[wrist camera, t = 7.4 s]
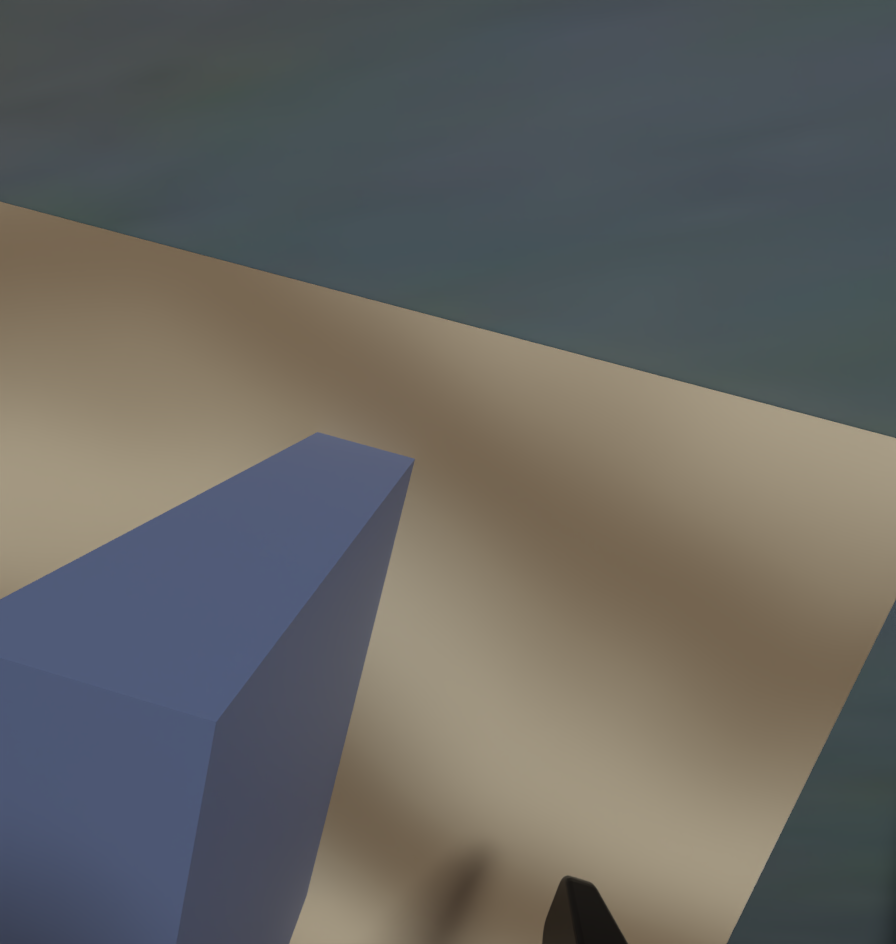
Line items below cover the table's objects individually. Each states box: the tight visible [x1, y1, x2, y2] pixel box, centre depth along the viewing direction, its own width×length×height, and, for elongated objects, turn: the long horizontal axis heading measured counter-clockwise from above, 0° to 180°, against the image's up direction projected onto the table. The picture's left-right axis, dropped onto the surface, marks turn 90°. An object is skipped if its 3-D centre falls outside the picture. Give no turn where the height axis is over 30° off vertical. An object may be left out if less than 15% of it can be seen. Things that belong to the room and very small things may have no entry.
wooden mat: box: [0, 202, 896, 944], centre depth 11 cm, size 18×16×1 cm
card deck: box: [0, 432, 415, 944], centre depth 7 cm, size 9×2×6 cm, turn 166°
